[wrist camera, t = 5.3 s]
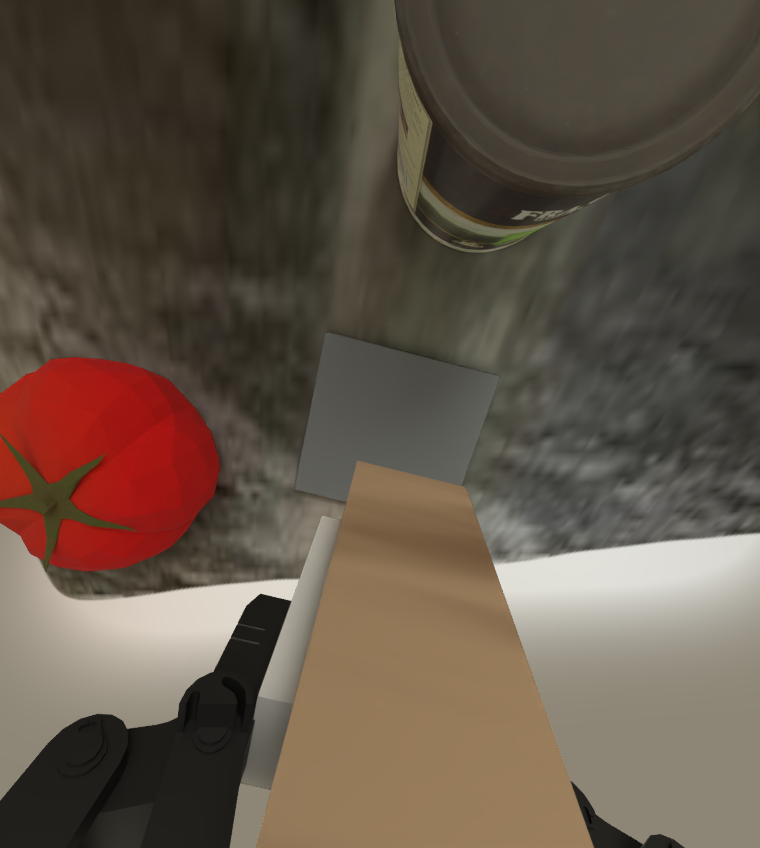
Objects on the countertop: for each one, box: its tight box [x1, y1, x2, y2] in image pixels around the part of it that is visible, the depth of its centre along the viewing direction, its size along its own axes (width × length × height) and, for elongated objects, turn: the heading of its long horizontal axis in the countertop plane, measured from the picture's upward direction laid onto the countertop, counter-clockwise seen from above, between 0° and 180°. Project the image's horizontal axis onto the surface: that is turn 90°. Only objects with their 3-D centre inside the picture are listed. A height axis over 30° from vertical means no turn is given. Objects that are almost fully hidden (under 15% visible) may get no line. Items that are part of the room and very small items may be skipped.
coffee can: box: [395, 0, 760, 253], centre depth 16 cm, size 10×10×14 cm
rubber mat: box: [295, 331, 500, 502], centre depth 28 cm, size 12×12×1 cm
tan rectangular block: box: [256, 461, 594, 848], centre depth 9 cm, size 7×4×11 cm, turn 166°
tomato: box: [0, 357, 220, 572], centre depth 24 cm, size 13×12×11 cm
